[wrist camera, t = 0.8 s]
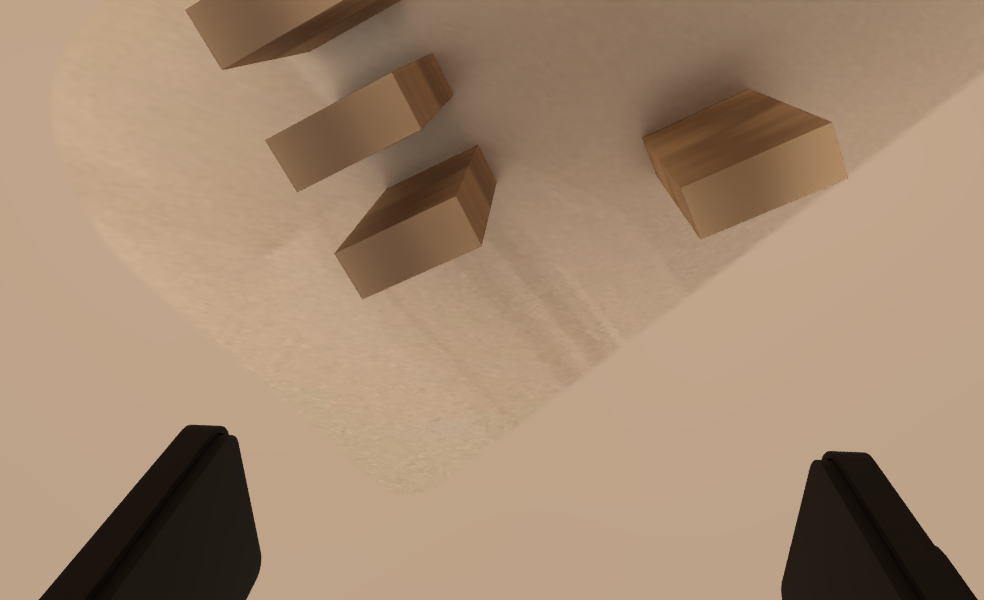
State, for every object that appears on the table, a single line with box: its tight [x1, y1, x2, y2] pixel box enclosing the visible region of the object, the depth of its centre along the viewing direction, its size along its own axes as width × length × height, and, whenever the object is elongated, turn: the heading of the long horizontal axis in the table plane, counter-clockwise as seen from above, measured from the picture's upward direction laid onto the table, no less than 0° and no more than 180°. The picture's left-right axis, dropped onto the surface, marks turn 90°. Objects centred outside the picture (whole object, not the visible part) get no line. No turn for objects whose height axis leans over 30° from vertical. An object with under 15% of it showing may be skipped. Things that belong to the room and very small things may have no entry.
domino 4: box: [642, 89, 848, 239], centre depth 26 cm, size 5×2×9 cm, turn 116°
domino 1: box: [186, 0, 400, 70], centre depth 25 cm, size 5×2×9 cm, turn 116°
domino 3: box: [334, 145, 496, 299], centre depth 28 cm, size 5×2×9 cm, turn 116°
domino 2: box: [265, 53, 453, 192], centre depth 26 cm, size 5×2×9 cm, turn 116°
